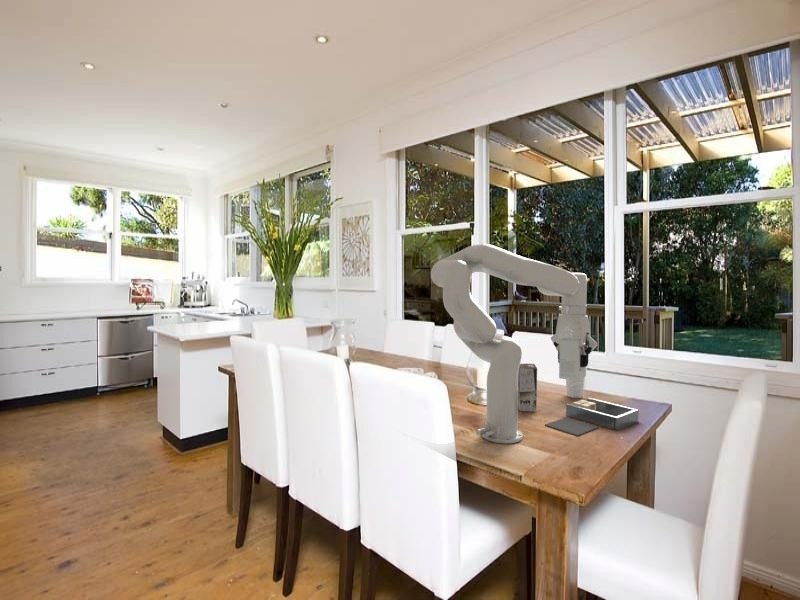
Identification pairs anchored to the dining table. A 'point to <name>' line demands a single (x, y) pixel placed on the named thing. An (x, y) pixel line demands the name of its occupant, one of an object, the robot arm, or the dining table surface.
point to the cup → (575, 388)
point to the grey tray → (622, 414)
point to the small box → (570, 360)
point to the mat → (572, 426)
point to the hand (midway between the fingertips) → (572, 364)
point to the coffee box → (527, 387)
